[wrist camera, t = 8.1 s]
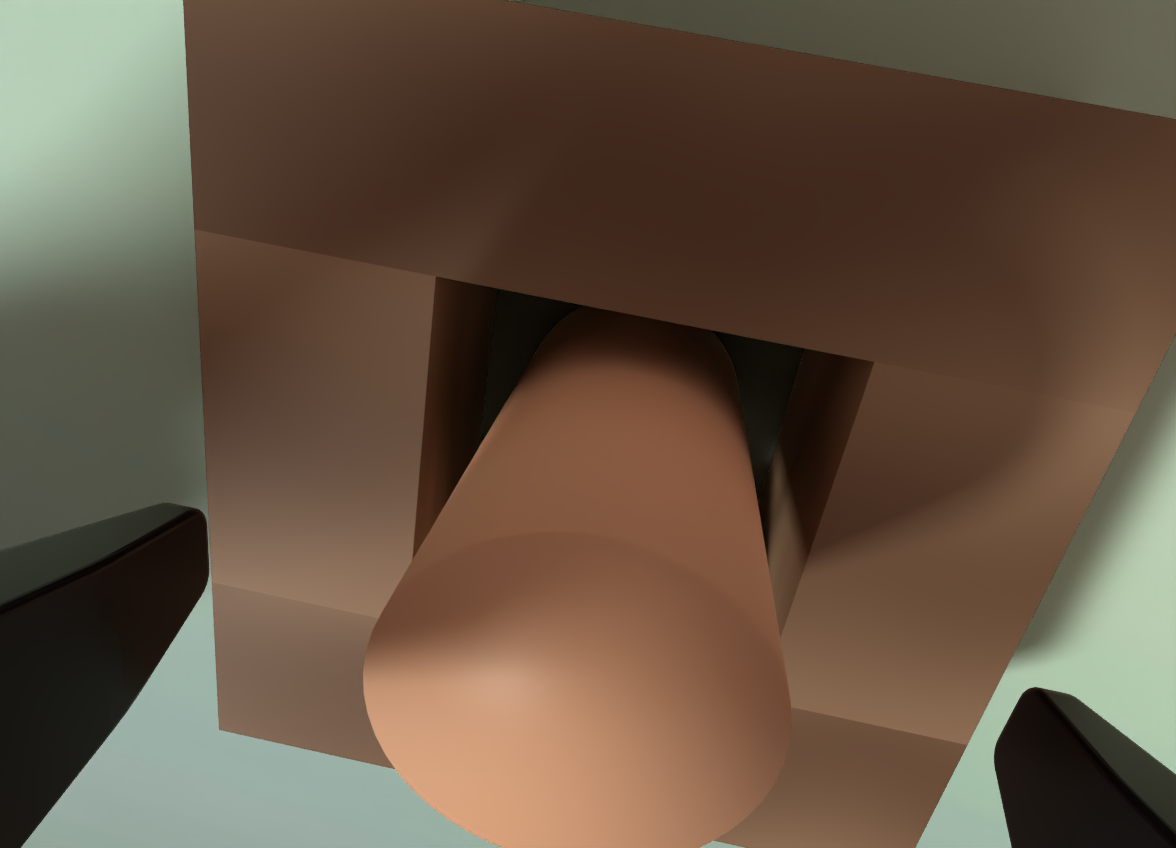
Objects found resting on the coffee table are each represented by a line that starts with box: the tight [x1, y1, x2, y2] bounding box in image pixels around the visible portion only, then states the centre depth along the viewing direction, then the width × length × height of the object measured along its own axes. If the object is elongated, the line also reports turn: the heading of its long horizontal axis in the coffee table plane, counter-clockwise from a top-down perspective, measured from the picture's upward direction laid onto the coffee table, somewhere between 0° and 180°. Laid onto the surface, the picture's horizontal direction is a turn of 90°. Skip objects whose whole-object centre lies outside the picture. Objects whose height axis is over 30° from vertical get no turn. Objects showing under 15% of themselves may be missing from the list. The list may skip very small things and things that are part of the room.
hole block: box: [183, 0, 1176, 848], centre depth 13 cm, size 12×12×4 cm
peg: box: [363, 306, 792, 848], centre depth 11 cm, size 4×4×8 cm
